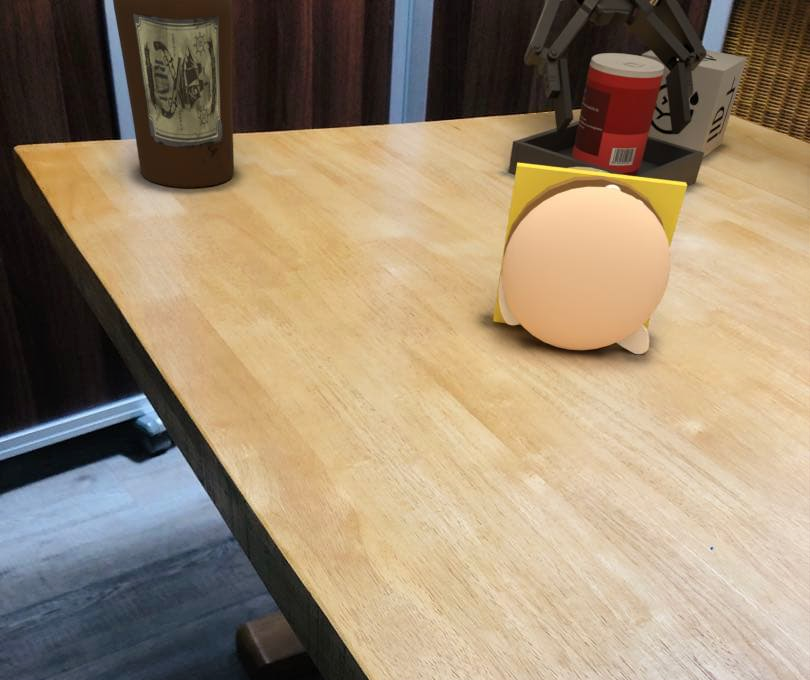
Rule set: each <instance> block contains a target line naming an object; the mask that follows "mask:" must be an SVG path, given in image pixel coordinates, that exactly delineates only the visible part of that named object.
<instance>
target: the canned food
mask: <svg viewBox="0 0 810 680" xmlns="http://www.w3.org/2000/svg"><path fill="white" fill-rule="evenodd" d="M663 71H664V65H663V64H661V63H660V62H658V61H656V60H653V59H650V58H646V57H642V55H636V54H630V53H629V54H628V53H617V52H607V53H599V54H598V53H597V54H595V55H593V56H591V60H590V62H589V67H588V73H587V76H586V82H585V86H584V92H583V97H582V103H581V107H580V113H579V118H578V121H579V123H578V128H577V133H576V139H575V144H574V149H573V154H572V158H575V159H578V160H581V161H584V162H587V163H590V164H594V165H597V166H600V167H603V168H606V169H609V170H613V171H616V172H619V173H622V174H625V175H628V176H635V175H636V174H637V172H638V170H639V168H640V166H641V162H642V158H643V154H644V150H645V146H646V142H647V138H648V134H649V130H650V126H651V122H652V118H653V114H654V110H655V106H656V102H657V98H658V94H659V90H660V86H661V81H662V77H663Z"/></svg>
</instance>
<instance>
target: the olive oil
mask: <svg viewBox="0 0 810 680" xmlns="http://www.w3.org/2000/svg"><path fill="white" fill-rule="evenodd" d="M112 3H113V10H114V16H115V22H116V26H117V27H116V29H117V34H118V39H119V46H120V49H121V50H120V51H121V56H122V61H123V68H124V72H125V73H124V74H125V80H126V86H127V92H128V98H129V104H130V110H131V117H132V123H133V129H134V137H135V143H136V149H137V155H138V157H137V158H138V163H139V170H140V172H141V175H142V176H143V177H145V179H147V180H148V181H150V182H153V183H155V184H158V185H161V186H167V187H172V188H184V189H186V188H187V189H188V188H189V189H190V188H191V189H193V188H205V187H212V186H217V185H219V184H223V183H225V182H227V181H229V180H230V179H231V178H232V177H233V175H234V174H235V173H234V172H235V161H234V158H235V157H234V155H235V154H234V123H233V121H234V119H233V118H234V117H233V113H234V111H233V1H232V0H112Z"/></svg>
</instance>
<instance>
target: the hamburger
mask: <svg viewBox="0 0 810 680" xmlns="http://www.w3.org/2000/svg"><path fill="white" fill-rule="evenodd" d="M687 188H688V186H687V184H686V182H678V181H670V180H661V179H653V178H644V177H636V176H627V175H619V174H610V173H608V172H606V171H603V170H598V169H594V168H588V167H572V168H560V167H551V166H543V165H534V164H526V163H517V168H516V174H514V182H513V189H512V195H511V200H510V207H509V213H508V220H507V226H506V232H505V238H504V239H505V241H504V245H503V246H504V247H503V252H502V259H501V260H502V261H501V265H500V271H499V279H498V286H497V293H496V298H495V305H494V312H493V318H492V319H493V320H492V322H494V323H502V324H507V325H509V326H517V325H518V326H522V328H523V329H525V330H526V331H527V332H528V333H529V334H530V335H532V336H533V337H535V338H536V339H538V340H540V341H542V342H543V343H545V344H548V345H550V346H553V347H555V348H560V349H565V350H569V351H571V350H573V351H587V350H588V351H589V350H596V349H601V348H604V347H607V346H610V345H614V344H617V345H619V346H620V347H622V348H624V349H626V350H628V351H629V352H630V353H633V354H635V355H642V354H644V353H646V352H647V351H648V350H649V347H650V334H649V331H648V326H649V323H650V320H651V316H652V315H653V314H654V313H655V312H656V310H657V308H658V306H659V305H660V303H661V301H663V297H664V295H665V293H666V290H667V287H668V284H669V281H670V274H671V267H672V266H671V261H672V260H671V259H672V258H671V245H672V241H673V238H674V234H675V231H676V227H677V224H678V220H679V217H680V214H681V210H682V206H683V203H684V200H685V195H686V192H687Z"/></svg>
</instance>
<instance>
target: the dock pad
mask: <svg viewBox="0 0 810 680" xmlns="http://www.w3.org/2000/svg"><path fill="white" fill-rule="evenodd" d="M578 123H579V120H578V121H575V122H571V123H570V124H569V125H568V127H567V128H566V130H565V131H564V132H557V128H556V127H554V128H552V129H549V130H546V131H542V132H538V133H536V134H533V135H529V136H526V137H522V138H520V139H519V138H518V139H516V140H513V141H512V146H511V152H510V159H509V166H508V173H510V174H513V175H515V174H516V168H517V163H526V164H534V165H543V166H551V167H560V168H572V167H588V168H594V169H598V170H603V171H606V172H608V173H610V174H619V175H625V174H622V173H619V172H616V171H613V170H609V169H606V168H603V167H600V166H597V165H594V164H590V163H587V162H584V161H581V160H578V159H575V158H572V154H573V149H574V144H575V139H576V133H577V128H578ZM703 155H704V152H701V151H697V150H693V149H690V148H687V147H683V146H680V145H676V144H673V143H669V142H666V141H662V140H659V139H656V138H652V137H649V136H648V138H647V142H646V146H645V150H644V154H643V158H642V162H641V166H640V168H639V170H638V172H637V174H636V175H635V176H636V177H644V178H653V179H661V180H670V181H678V182H686V184H687V187H688V186H691V185H693V184H695V183H697V179H698V175H699V173H700V169H701V165H702V162H703V159H704V157H703ZM627 176H628V175H627Z"/></svg>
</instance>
